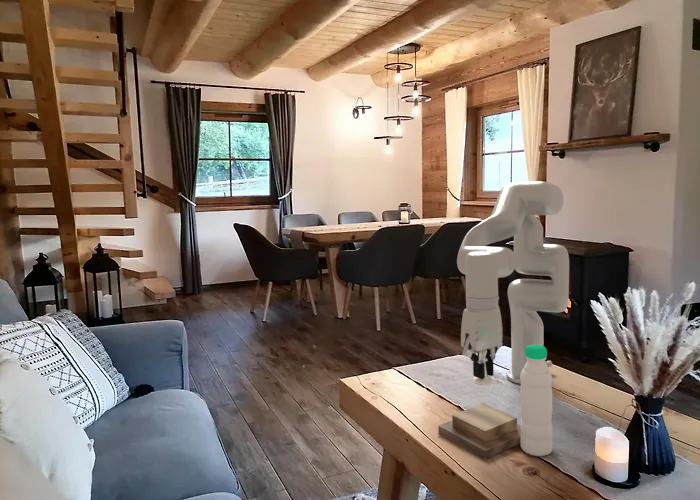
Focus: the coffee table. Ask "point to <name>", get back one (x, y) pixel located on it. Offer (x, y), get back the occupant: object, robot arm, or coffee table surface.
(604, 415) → the coffee table surface
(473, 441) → the plinth
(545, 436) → the water bottle
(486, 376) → the chess piece
